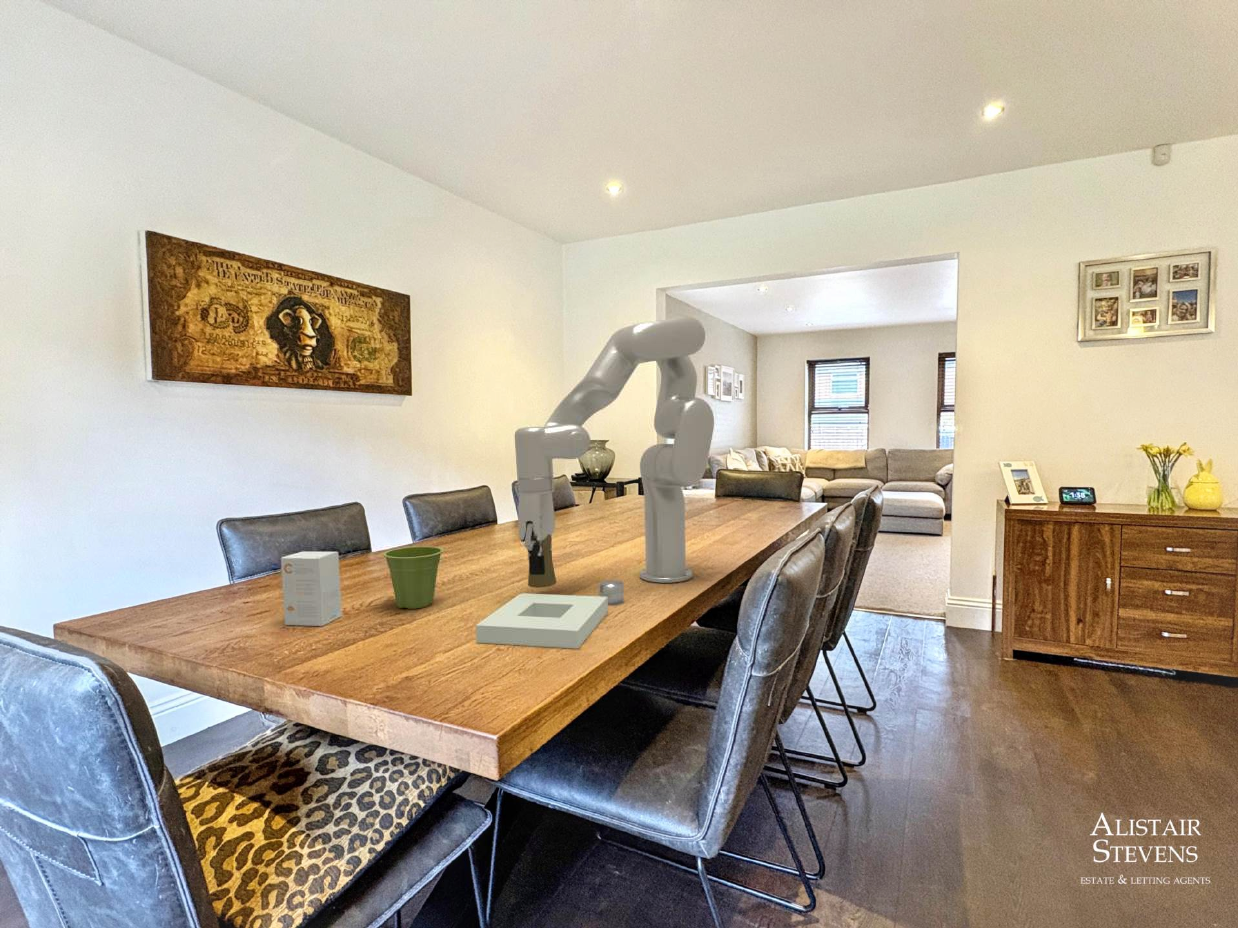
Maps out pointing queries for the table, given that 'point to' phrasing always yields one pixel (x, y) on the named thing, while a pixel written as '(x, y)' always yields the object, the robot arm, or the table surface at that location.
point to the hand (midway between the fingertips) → (541, 570)
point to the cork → (549, 575)
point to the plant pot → (413, 574)
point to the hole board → (543, 621)
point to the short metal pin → (612, 591)
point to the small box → (311, 588)
